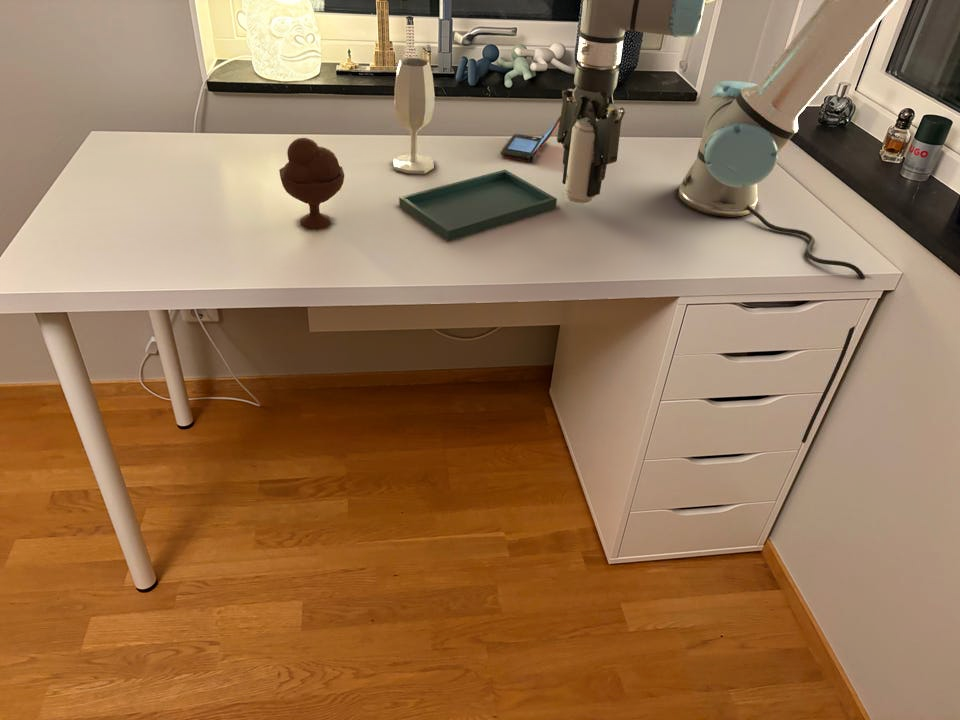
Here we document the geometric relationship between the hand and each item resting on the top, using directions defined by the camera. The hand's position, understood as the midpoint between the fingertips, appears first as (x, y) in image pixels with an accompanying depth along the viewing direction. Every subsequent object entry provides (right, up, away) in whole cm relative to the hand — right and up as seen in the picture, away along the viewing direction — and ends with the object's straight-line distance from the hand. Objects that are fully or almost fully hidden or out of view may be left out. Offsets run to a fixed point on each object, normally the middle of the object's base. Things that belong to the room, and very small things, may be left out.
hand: (580, 188), depth 145 cm
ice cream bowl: (-49, -9, -10) cm, 50 cm away
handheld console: (-8, +13, +23) cm, 27 cm away
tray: (-20, -4, -1) cm, 20 cm away
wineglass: (-33, +7, +12) cm, 36 cm away
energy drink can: (0, -2, +1) cm, 2 cm away
